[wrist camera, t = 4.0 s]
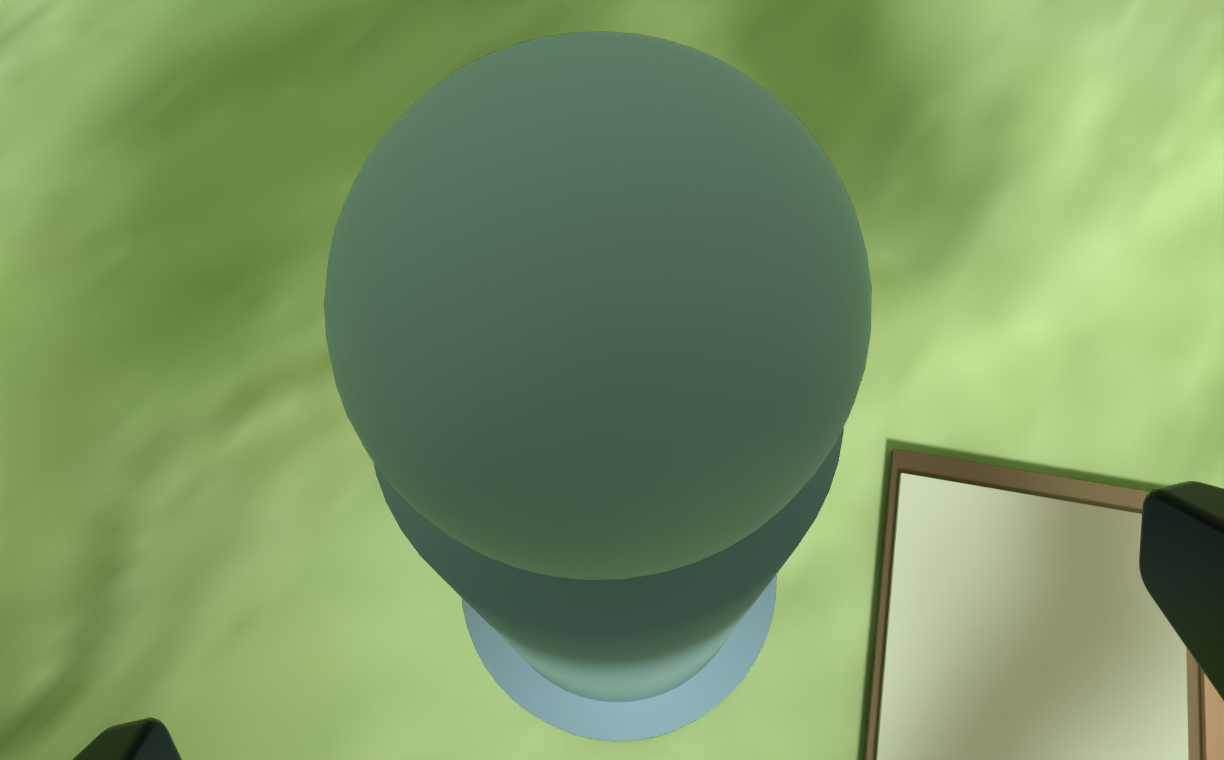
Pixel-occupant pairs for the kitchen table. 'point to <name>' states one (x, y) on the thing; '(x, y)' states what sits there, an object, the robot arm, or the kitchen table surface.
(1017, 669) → the board
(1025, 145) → the kitchen table surface
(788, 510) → the pawn
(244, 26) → the kitchen table surface
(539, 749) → the kitchen table surface
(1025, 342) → the kitchen table surface
